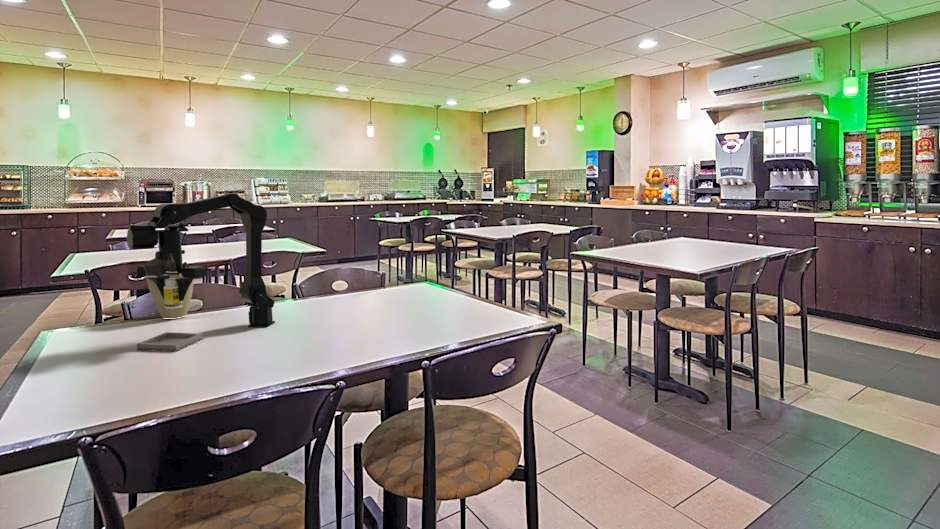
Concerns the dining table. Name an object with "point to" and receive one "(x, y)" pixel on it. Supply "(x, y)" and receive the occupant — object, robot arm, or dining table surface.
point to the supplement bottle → (171, 294)
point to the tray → (170, 341)
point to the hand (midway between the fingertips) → (173, 300)
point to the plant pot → (160, 301)
